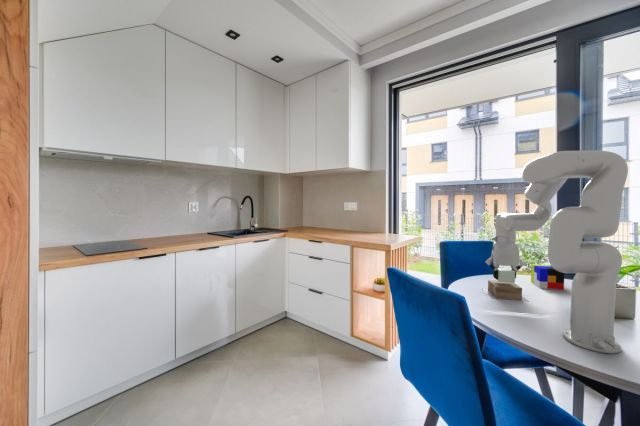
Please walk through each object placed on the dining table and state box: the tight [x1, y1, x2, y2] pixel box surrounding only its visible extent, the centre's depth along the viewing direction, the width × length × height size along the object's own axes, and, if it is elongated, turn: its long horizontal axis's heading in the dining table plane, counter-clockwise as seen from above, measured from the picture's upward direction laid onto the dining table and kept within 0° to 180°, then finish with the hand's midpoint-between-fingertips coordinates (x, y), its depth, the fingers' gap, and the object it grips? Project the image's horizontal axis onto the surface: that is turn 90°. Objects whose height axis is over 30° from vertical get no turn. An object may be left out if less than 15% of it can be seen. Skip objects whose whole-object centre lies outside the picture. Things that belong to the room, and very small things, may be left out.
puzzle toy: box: [530, 263, 565, 291], centre depth 138 cm, size 10×10×10 cm
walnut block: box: [487, 279, 523, 300], centre depth 122 cm, size 10×10×5 cm
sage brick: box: [495, 267, 516, 284], centre depth 122 cm, size 6×6×5 cm
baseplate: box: [482, 288, 530, 303], centre depth 123 cm, size 14×14×1 cm
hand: (504, 278), depth 122 cm, fingers closed on sage brick, 6 cm apart
